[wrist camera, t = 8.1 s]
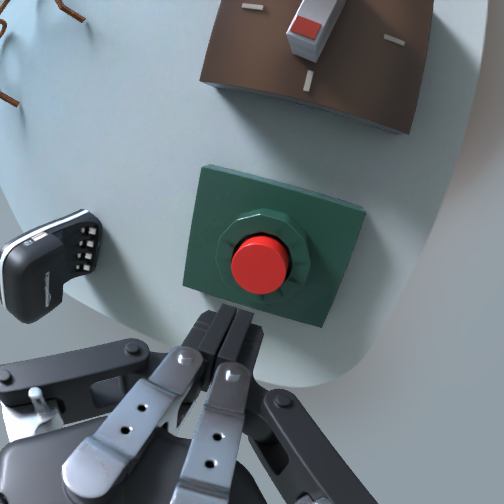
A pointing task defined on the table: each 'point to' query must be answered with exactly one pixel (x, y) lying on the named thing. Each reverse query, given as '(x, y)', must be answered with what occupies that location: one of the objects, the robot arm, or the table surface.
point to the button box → (278, 227)
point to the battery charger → (47, 263)
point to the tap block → (326, 58)
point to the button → (260, 264)
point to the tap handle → (313, 27)
